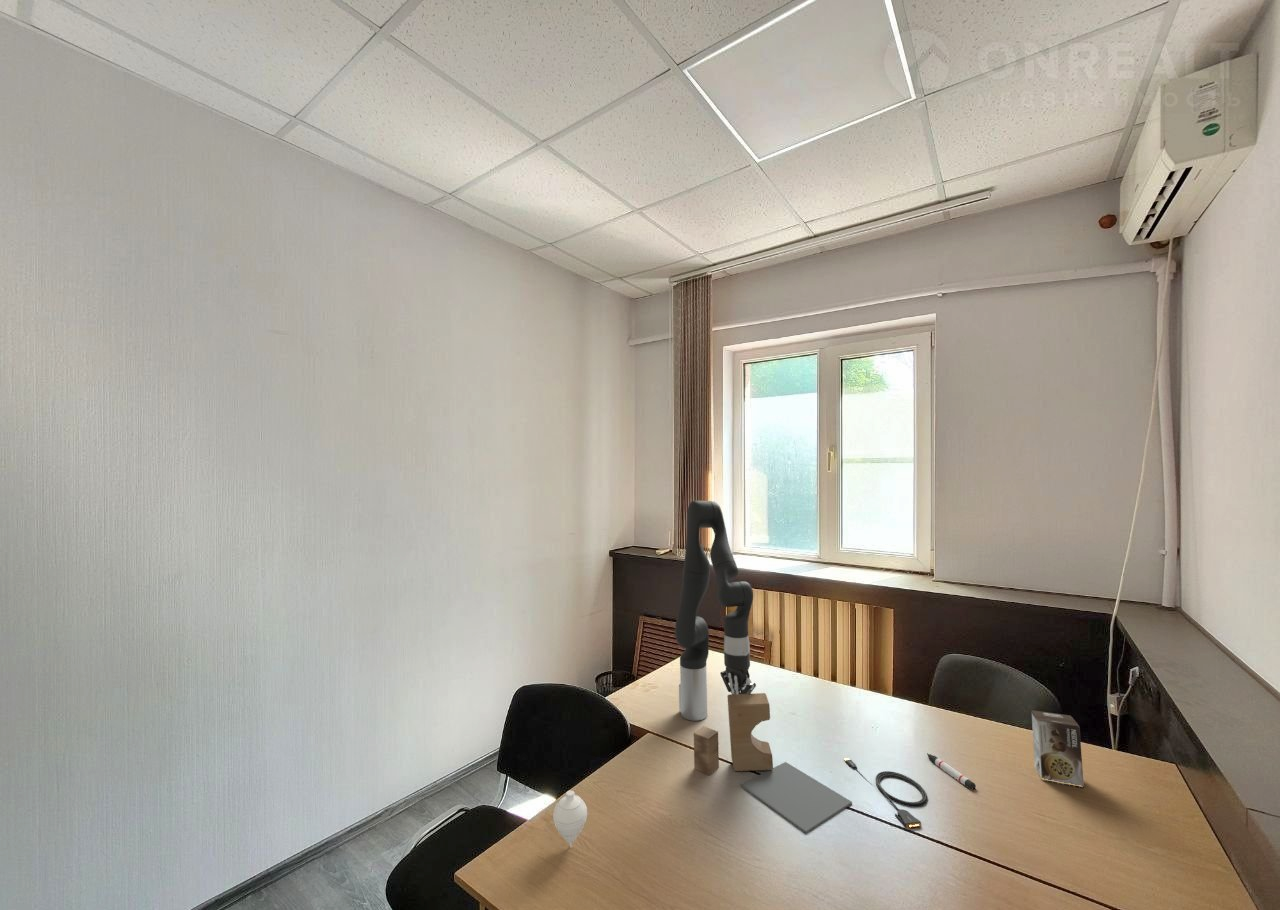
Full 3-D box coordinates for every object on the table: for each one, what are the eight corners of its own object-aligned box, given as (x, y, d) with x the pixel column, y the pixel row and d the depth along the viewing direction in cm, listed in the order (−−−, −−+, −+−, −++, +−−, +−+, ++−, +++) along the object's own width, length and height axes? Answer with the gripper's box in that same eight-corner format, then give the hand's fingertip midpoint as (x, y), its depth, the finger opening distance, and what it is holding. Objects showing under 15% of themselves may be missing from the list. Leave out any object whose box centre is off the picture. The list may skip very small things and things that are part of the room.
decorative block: (769, 756, 142) (766, 692, 139) (773, 771, 136) (769, 704, 134) (731, 757, 143) (727, 693, 140) (733, 771, 137) (729, 705, 135)
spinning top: (558, 864, 105) (557, 807, 106) (550, 840, 112) (549, 787, 113) (592, 853, 108) (591, 797, 109) (582, 830, 115) (581, 778, 116)
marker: (975, 790, 128) (975, 782, 128) (969, 791, 128) (969, 783, 128) (929, 757, 143) (929, 750, 143) (924, 758, 143) (923, 751, 143)
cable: (887, 758, 143) (886, 753, 143) (960, 826, 115) (959, 819, 115) (843, 762, 142) (843, 756, 142) (907, 832, 114) (906, 825, 114)
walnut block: (694, 768, 139) (693, 732, 139) (704, 760, 143) (703, 725, 143) (709, 775, 136) (708, 738, 136) (718, 767, 139) (718, 731, 140)
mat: (740, 786, 131) (740, 784, 131) (785, 763, 141) (785, 761, 141) (805, 833, 113) (805, 831, 113) (851, 803, 123) (851, 801, 123)
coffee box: (1075, 775, 133) (1071, 715, 134) (1084, 789, 127) (1081, 726, 128) (1033, 767, 137) (1030, 709, 138) (1040, 780, 131) (1037, 719, 132)
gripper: (712, 646, 148) (713, 704, 148) (743, 659, 137) (745, 722, 137) (730, 641, 153) (731, 697, 152) (762, 653, 141) (764, 714, 141)
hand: (738, 709), depth 144 cm, fingers closed
